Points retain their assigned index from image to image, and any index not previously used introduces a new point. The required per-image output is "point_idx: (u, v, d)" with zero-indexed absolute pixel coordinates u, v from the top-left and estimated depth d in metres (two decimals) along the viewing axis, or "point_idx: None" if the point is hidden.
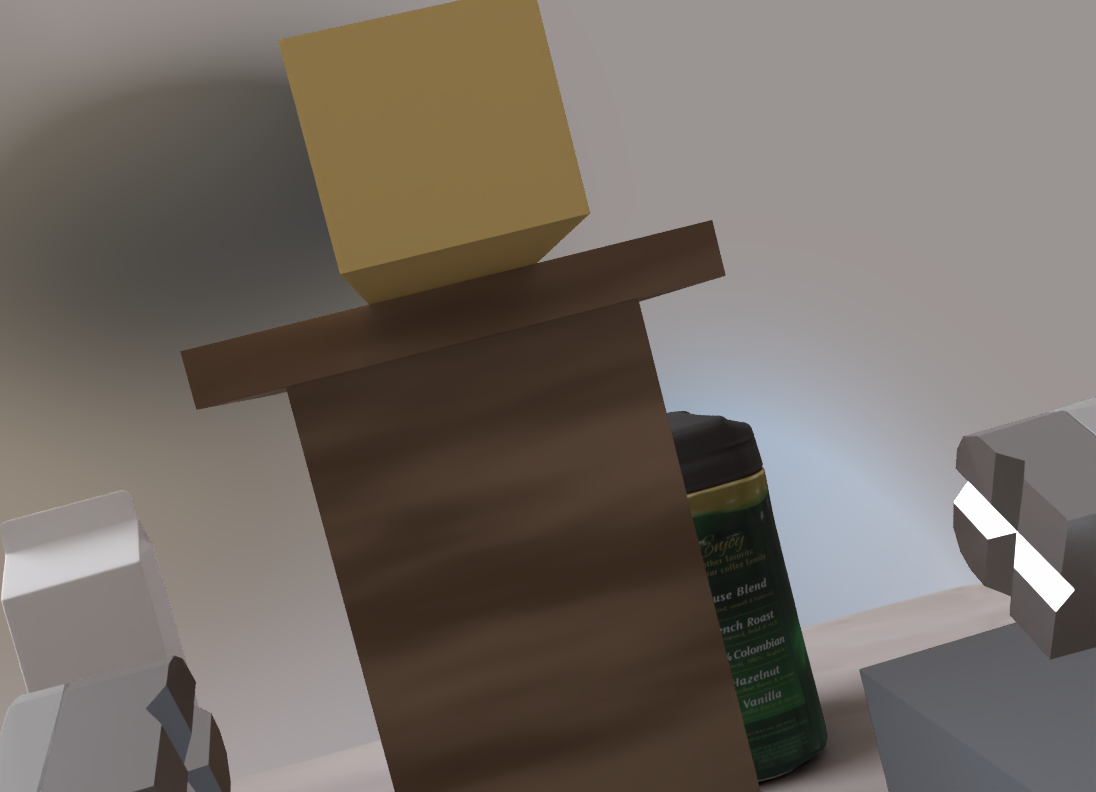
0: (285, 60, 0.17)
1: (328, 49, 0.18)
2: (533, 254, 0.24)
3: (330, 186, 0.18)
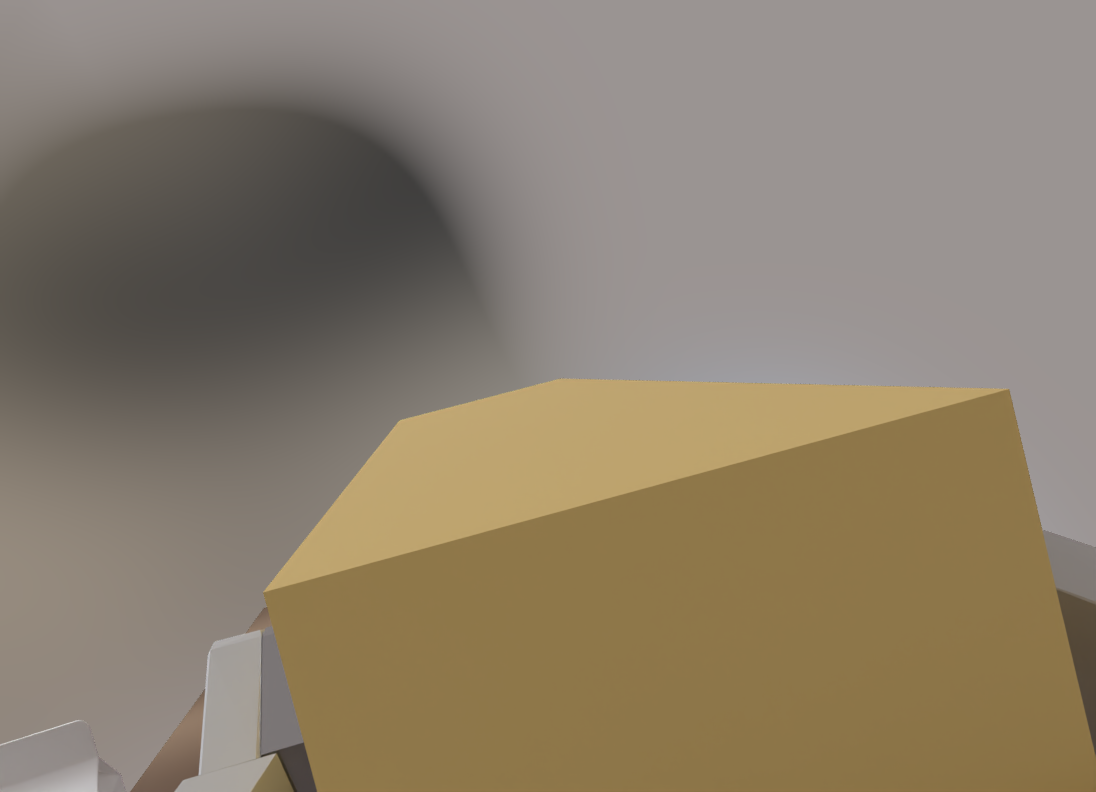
0: (285, 649, 0.06)
1: (415, 612, 0.06)
2: None
3: None
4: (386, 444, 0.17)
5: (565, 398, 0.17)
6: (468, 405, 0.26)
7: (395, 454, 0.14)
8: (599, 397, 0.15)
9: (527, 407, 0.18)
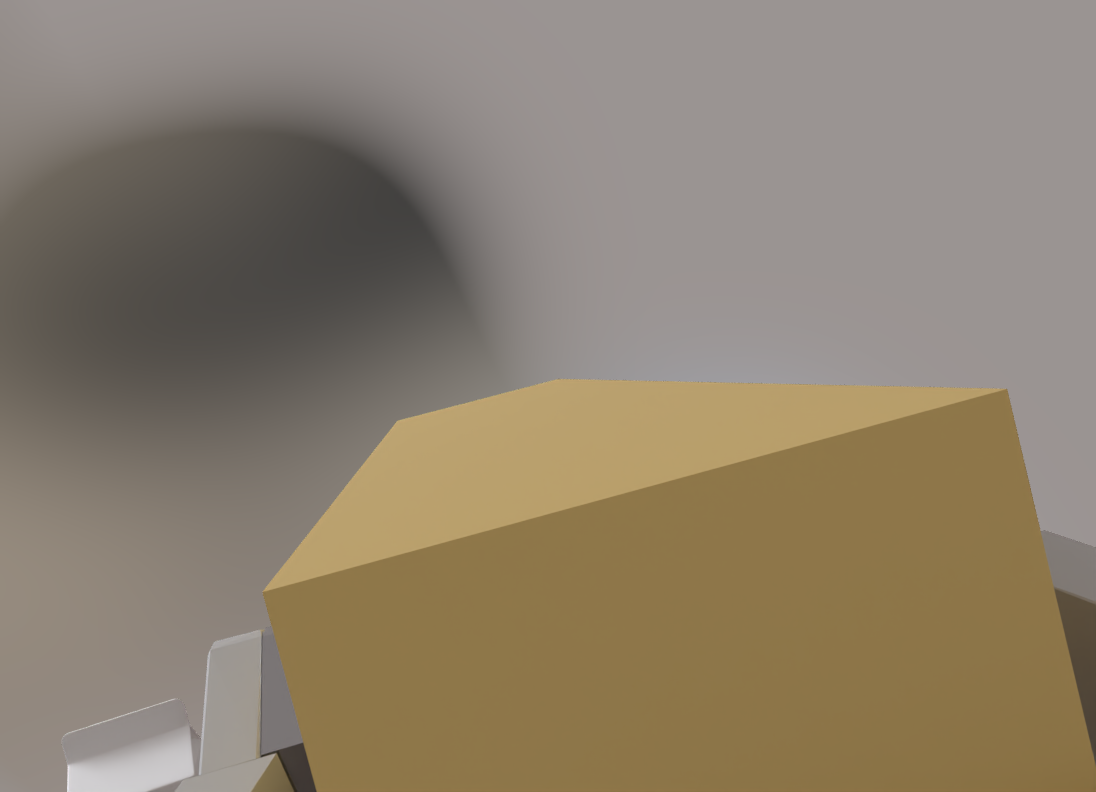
0: (284, 649, 0.06)
1: (414, 611, 0.06)
2: None
3: None
4: (384, 444, 0.17)
5: (563, 398, 0.18)
6: (466, 405, 0.26)
7: (393, 454, 0.14)
8: (597, 397, 0.15)
9: (525, 407, 0.18)
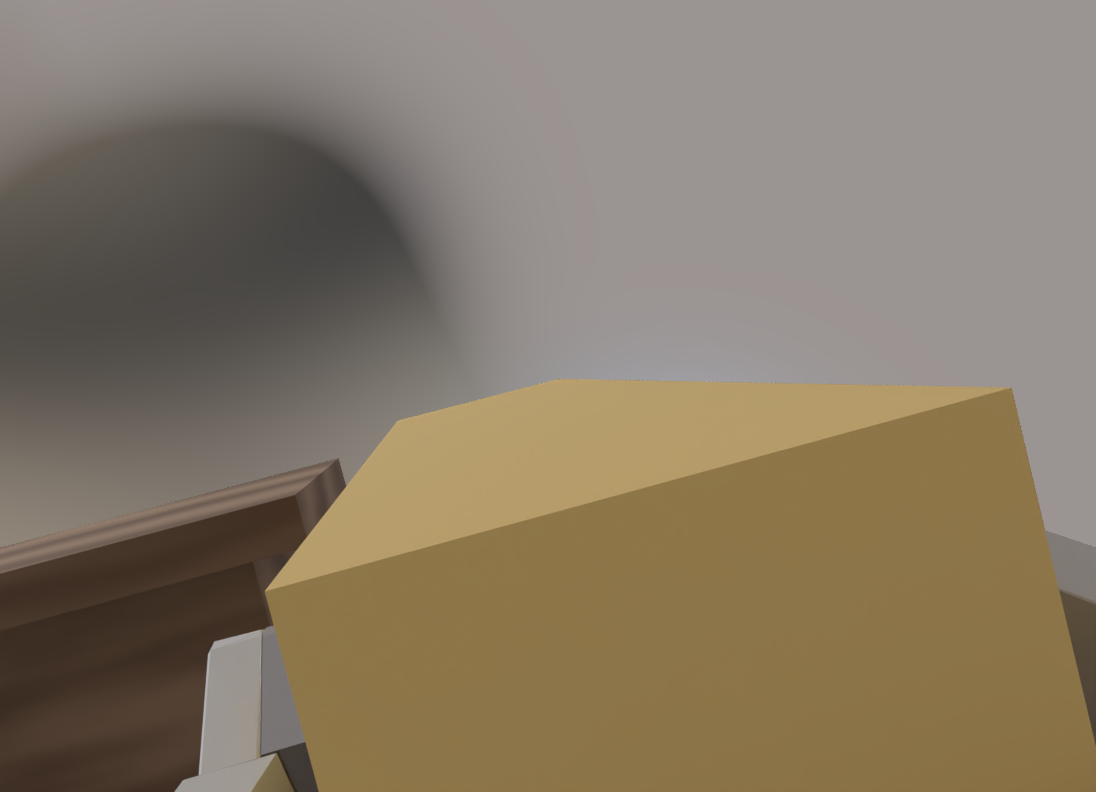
0: (286, 649, 0.06)
1: (417, 611, 0.06)
2: None
3: None
4: (385, 444, 0.17)
5: (564, 398, 0.17)
6: (466, 405, 0.26)
7: (394, 454, 0.14)
8: (598, 397, 0.15)
9: (526, 407, 0.18)
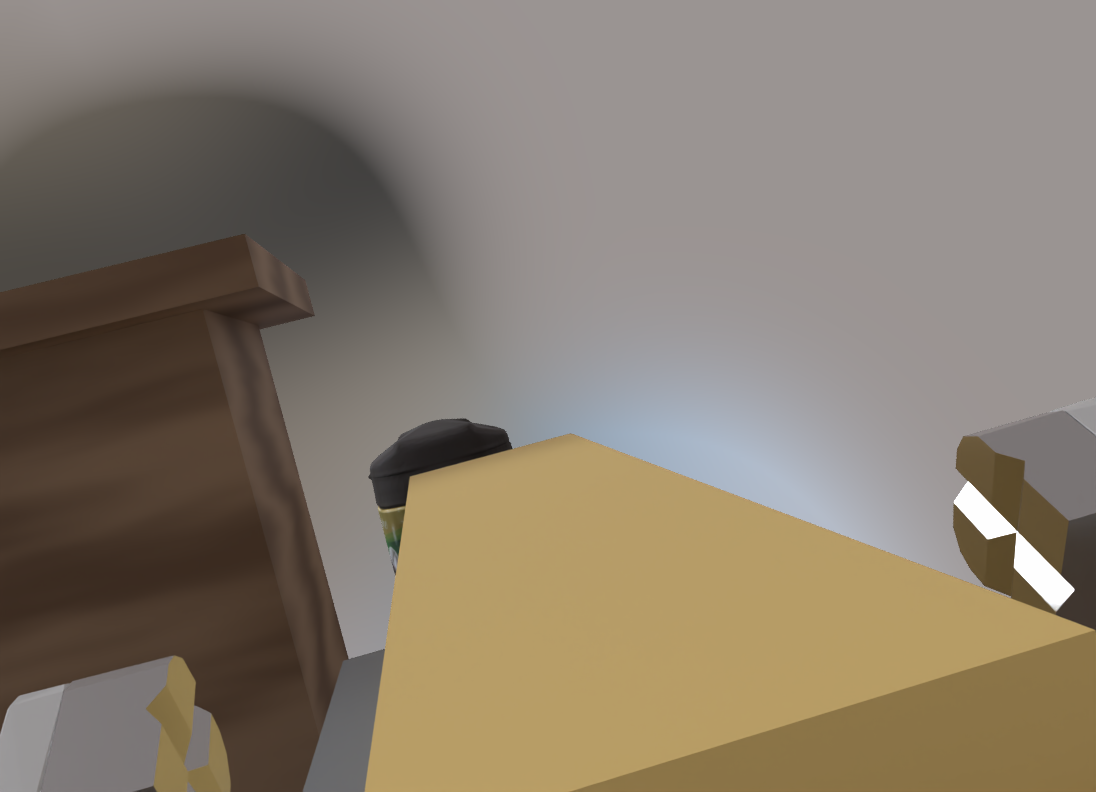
0: None
1: None
2: None
3: None
4: (409, 532, 0.17)
5: (588, 484, 0.17)
6: (480, 465, 0.26)
7: (425, 560, 0.14)
8: (627, 495, 0.15)
9: (550, 492, 0.18)
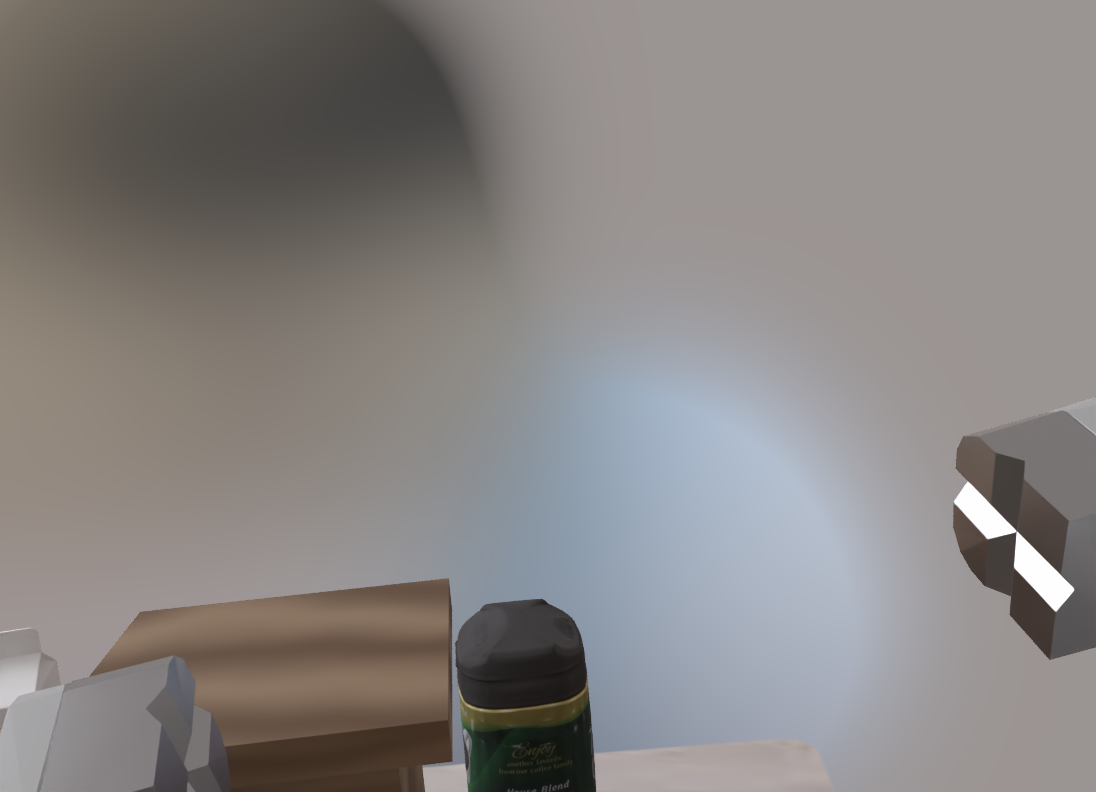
0: None
1: None
2: None
3: None
4: None
5: None
6: None
7: None
8: None
9: None
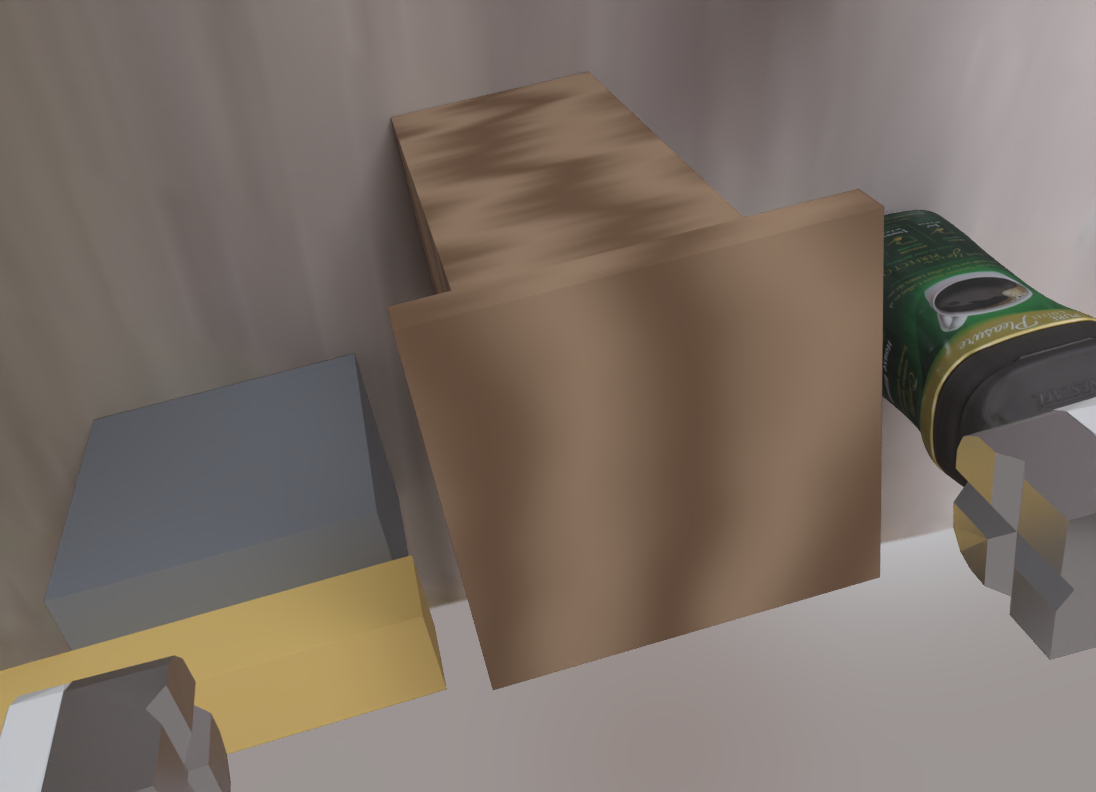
0: None
1: None
2: None
3: None
4: None
5: None
6: (382, 661, 0.44)
7: None
8: None
9: None
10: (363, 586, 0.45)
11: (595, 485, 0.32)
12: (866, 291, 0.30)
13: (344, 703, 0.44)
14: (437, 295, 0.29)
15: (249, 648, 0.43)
